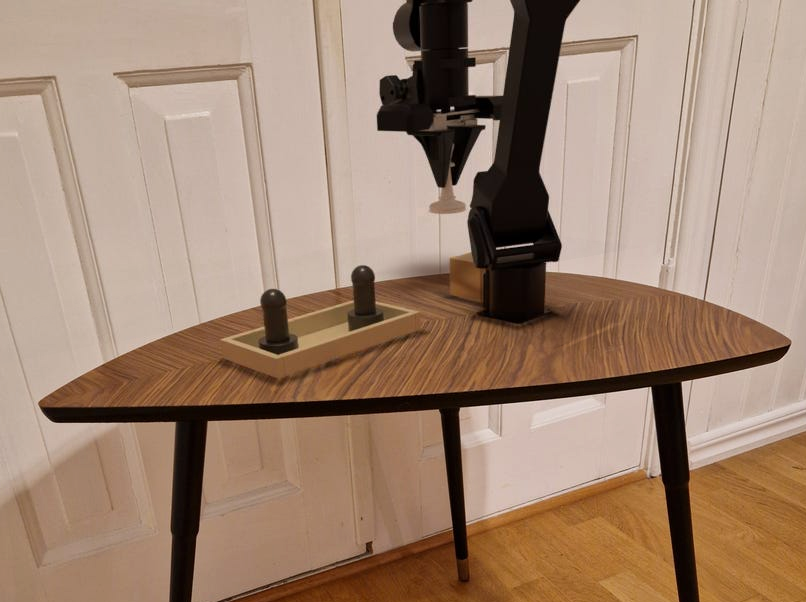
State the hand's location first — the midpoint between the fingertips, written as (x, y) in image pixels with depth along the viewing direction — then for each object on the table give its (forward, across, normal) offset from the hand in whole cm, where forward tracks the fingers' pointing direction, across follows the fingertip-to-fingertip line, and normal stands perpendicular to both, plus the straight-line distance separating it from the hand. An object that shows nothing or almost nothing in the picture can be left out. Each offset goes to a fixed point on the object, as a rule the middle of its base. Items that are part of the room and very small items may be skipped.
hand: (447, 186), depth 104 cm
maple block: (+12, +4, +9) cm, 15 cm away
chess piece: (+3, 0, 0) cm, 3 cm away
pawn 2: (+12, +23, +9) cm, 27 cm away
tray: (+12, +29, +9) cm, 33 cm away
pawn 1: (+12, +35, +9) cm, 38 cm away
